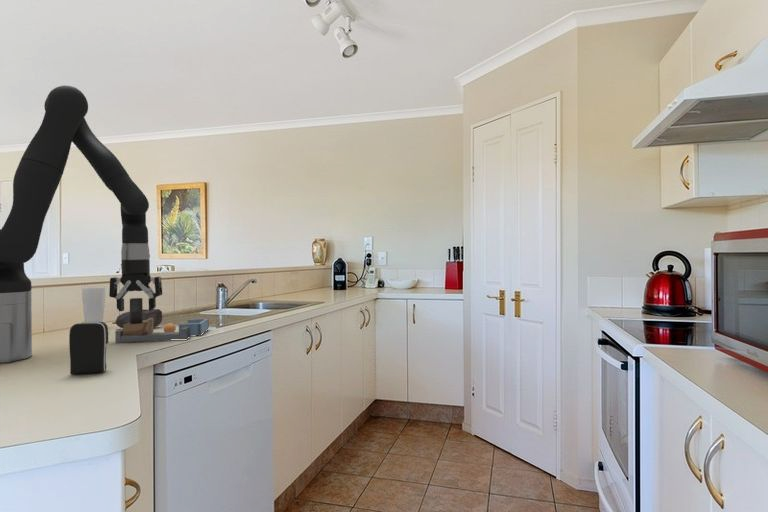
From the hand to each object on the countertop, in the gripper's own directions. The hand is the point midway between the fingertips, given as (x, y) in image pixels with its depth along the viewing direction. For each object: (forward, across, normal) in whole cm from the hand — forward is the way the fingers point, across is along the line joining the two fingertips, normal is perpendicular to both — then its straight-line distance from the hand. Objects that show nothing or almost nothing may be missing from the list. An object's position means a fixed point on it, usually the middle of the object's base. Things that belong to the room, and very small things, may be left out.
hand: (136, 310), depth 131 cm
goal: (+10, +14, +9) cm, 20 cm away
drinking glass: (+10, -23, +24) cm, 34 cm away
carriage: (+9, 0, +4) cm, 10 cm away
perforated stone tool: (+10, -8, +23) cm, 26 cm away
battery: (+9, +4, -36) cm, 38 cm away
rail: (+9, +5, 0) cm, 11 cm away
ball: (+8, +6, +10) cm, 14 cm away
